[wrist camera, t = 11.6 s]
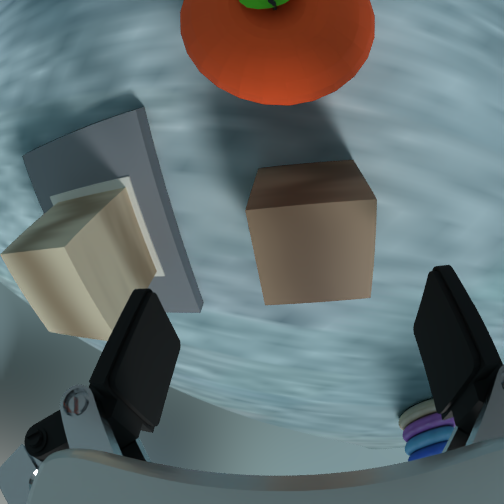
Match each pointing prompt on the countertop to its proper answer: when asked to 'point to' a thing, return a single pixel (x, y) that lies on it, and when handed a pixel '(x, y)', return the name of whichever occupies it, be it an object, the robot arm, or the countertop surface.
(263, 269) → the walnut cube
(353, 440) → the countertop surface
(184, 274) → the board
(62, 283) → the maple cube
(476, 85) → the countertop surface
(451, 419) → the stacking toy
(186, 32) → the clementine
